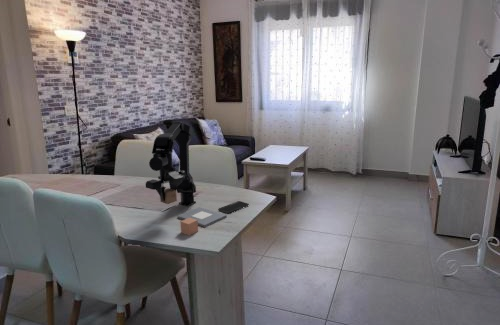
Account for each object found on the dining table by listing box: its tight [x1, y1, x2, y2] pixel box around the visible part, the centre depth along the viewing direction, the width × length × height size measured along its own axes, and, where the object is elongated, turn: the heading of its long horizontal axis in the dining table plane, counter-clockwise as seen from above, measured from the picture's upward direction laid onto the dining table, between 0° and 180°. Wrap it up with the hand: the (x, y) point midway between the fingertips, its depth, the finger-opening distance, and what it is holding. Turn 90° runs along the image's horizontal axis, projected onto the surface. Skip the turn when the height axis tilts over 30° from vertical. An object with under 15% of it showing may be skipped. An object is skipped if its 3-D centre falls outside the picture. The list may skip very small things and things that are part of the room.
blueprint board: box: [177, 206, 227, 228], centre depth 162 cm, size 18×14×1 cm
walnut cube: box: [159, 187, 178, 205], centre depth 155 cm, size 5×5×5 cm
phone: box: [218, 200, 250, 215], centre depth 174 cm, size 8×1×15 cm
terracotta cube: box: [179, 218, 199, 236], centre depth 147 cm, size 5×5×5 cm
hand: (168, 199), depth 156 cm, fingers closed on walnut cube, 5 cm apart
